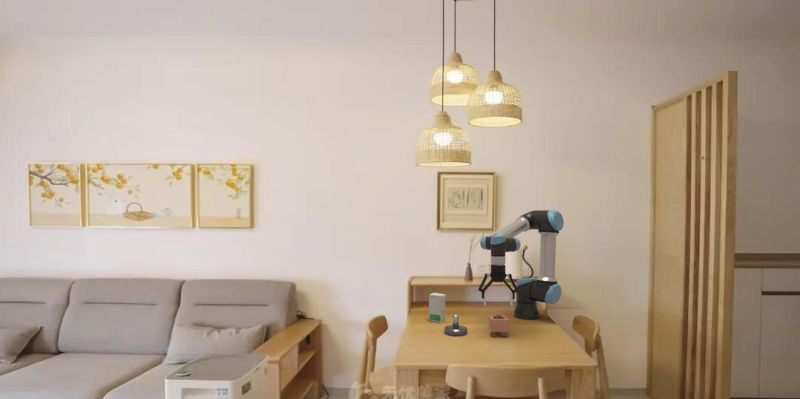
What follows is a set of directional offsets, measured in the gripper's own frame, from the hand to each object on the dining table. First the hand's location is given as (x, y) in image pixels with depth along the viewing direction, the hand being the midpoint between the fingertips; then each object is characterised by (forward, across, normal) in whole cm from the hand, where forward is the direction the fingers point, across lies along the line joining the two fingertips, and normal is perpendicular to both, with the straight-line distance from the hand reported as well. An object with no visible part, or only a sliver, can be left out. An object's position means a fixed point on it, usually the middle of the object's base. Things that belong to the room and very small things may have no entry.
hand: (498, 305), depth 219 cm
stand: (+15, 0, 0) cm, 15 cm away
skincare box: (+16, +32, -26) cm, 44 cm away
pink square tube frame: (+12, 0, 0) cm, 12 cm away
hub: (+16, +22, -2) cm, 27 cm away
